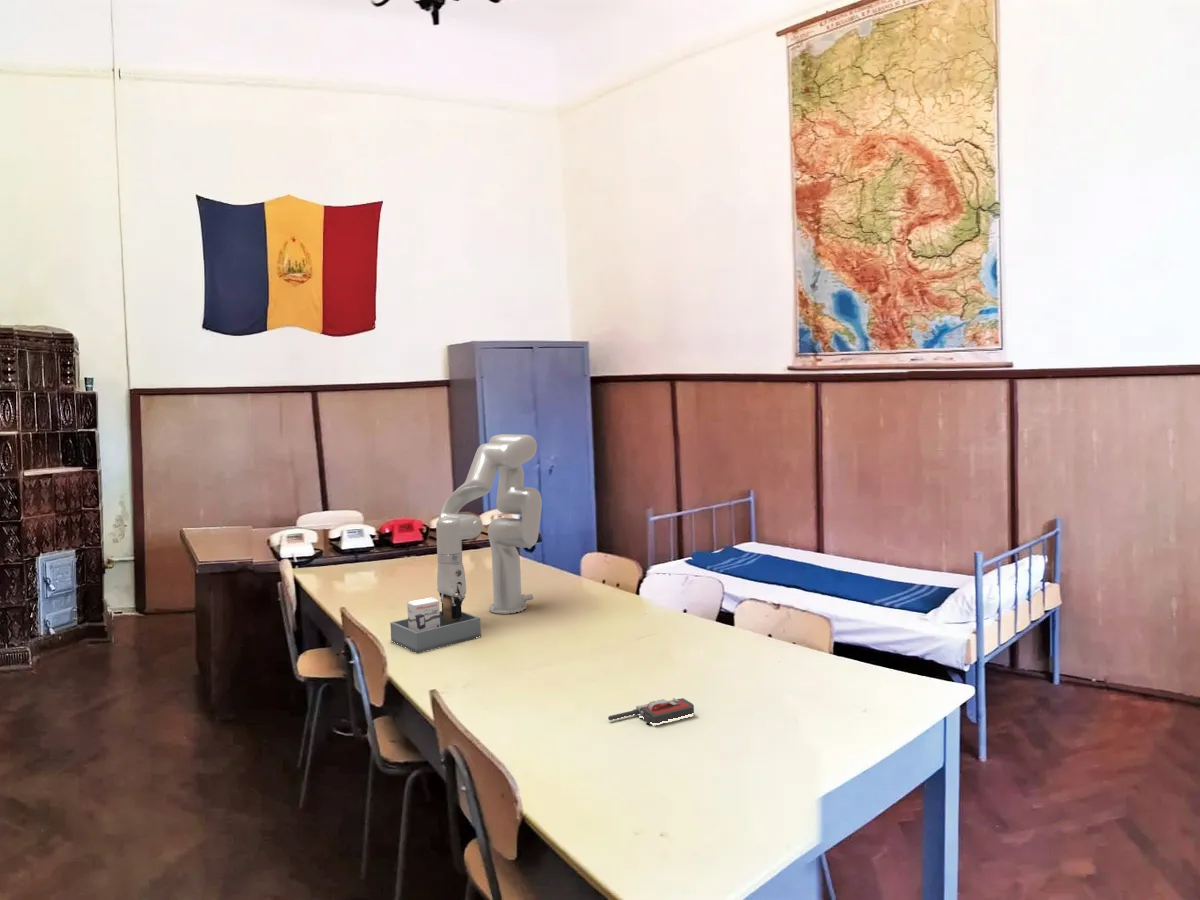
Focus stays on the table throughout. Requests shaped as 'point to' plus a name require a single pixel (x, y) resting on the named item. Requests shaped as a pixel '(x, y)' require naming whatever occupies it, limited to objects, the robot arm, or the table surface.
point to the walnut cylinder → (448, 609)
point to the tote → (436, 633)
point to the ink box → (423, 614)
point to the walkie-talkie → (660, 710)
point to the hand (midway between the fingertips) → (451, 615)
